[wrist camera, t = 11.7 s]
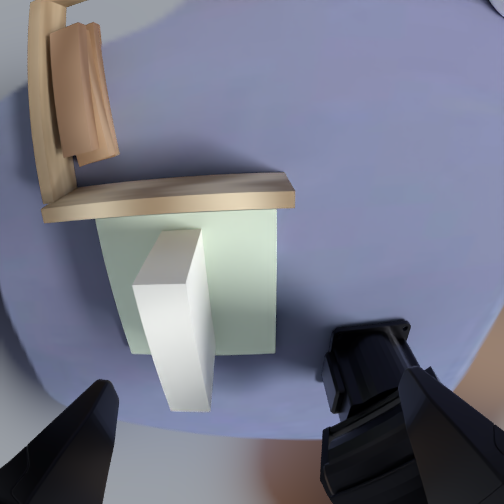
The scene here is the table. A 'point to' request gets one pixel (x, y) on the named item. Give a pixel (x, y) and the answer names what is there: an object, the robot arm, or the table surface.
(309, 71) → the table surface
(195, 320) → the white block
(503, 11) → the drinking glass
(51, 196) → the rack
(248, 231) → the mat
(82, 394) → the robot arm
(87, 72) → the offcut stack
